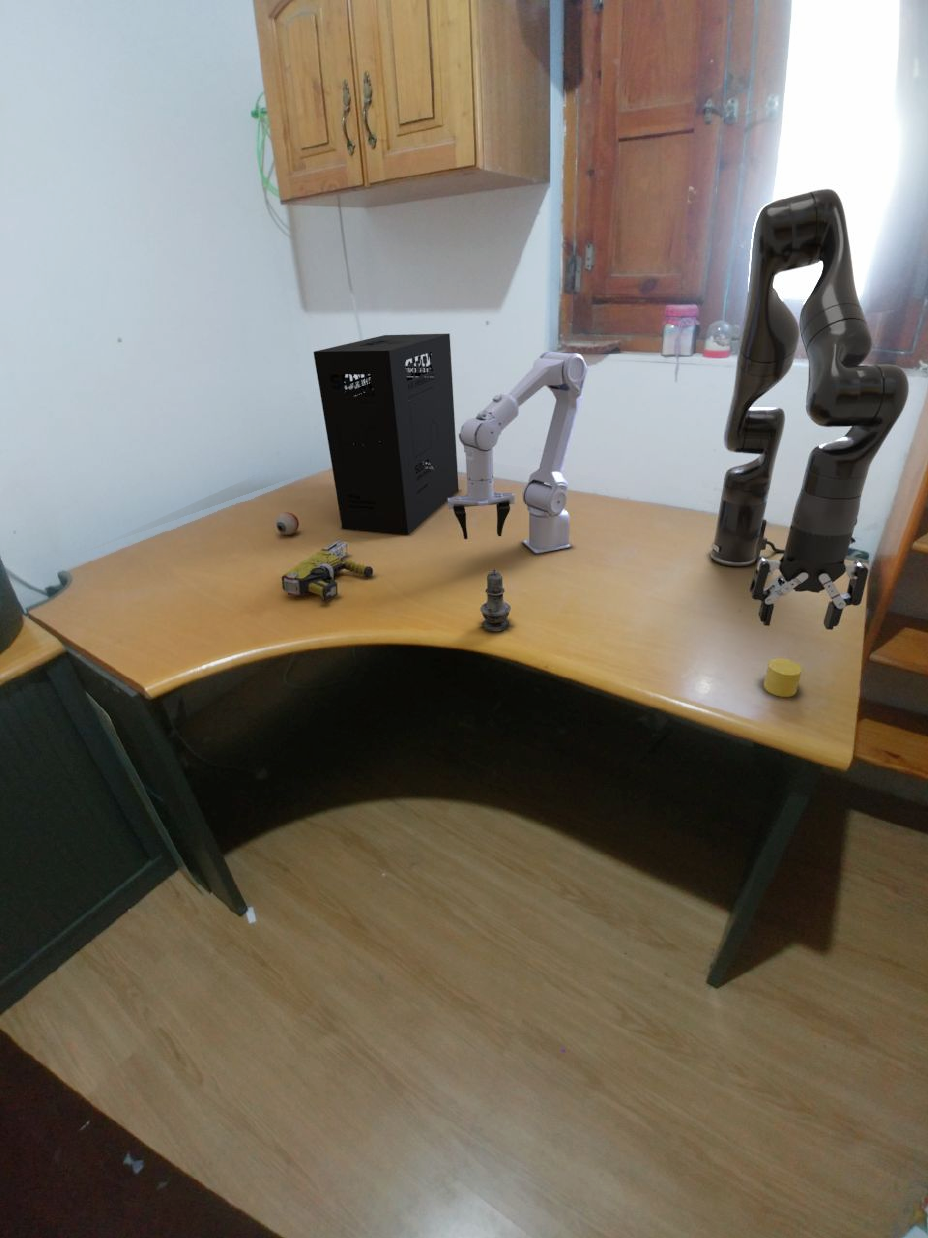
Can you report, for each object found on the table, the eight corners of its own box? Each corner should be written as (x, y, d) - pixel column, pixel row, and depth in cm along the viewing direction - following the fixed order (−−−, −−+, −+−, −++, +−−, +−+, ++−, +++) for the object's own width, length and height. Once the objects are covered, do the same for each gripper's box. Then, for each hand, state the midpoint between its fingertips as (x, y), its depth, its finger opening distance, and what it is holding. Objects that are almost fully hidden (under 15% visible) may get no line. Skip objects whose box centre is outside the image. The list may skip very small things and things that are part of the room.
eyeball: (273, 537, 164) (268, 516, 161) (287, 528, 169) (282, 508, 166) (291, 539, 161) (286, 518, 158) (305, 530, 166) (301, 510, 163)
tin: (800, 686, 96) (806, 665, 94) (790, 701, 93) (796, 678, 91) (769, 676, 99) (774, 654, 97) (758, 689, 96) (764, 667, 94)
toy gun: (389, 548, 145) (334, 537, 149) (339, 588, 125) (277, 575, 129) (389, 566, 147) (335, 555, 151) (340, 608, 127) (279, 595, 131)
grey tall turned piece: (508, 633, 114) (507, 576, 108) (478, 631, 116) (475, 574, 110) (512, 617, 119) (512, 562, 113) (483, 615, 120) (481, 561, 114)
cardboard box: (400, 486, 197) (384, 334, 175) (458, 490, 190) (449, 333, 168) (342, 528, 167) (313, 351, 144) (408, 534, 160) (389, 350, 138)
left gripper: (447, 485, 126) (451, 545, 132) (516, 479, 126) (517, 540, 133) (445, 475, 132) (449, 533, 138) (511, 470, 132) (511, 528, 139)
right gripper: (871, 514, 84) (841, 616, 92) (760, 511, 87) (740, 609, 95) (891, 535, 77) (857, 642, 85) (771, 531, 80) (748, 634, 89)
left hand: (482, 536), depth 136 cm, fingers open, 7 cm apart
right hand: (795, 625), depth 90 cm, fingers open, 8 cm apart
